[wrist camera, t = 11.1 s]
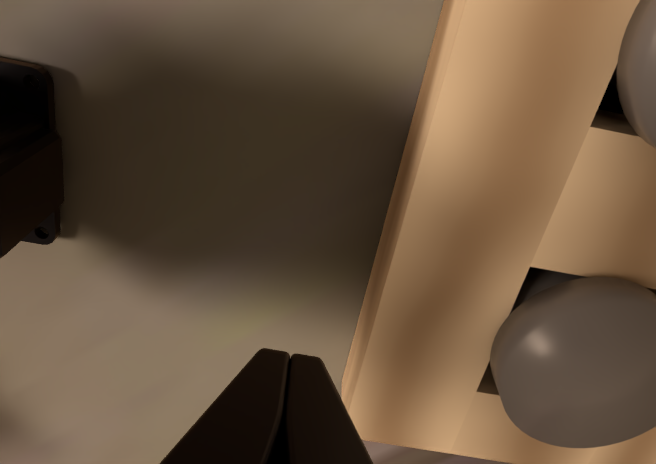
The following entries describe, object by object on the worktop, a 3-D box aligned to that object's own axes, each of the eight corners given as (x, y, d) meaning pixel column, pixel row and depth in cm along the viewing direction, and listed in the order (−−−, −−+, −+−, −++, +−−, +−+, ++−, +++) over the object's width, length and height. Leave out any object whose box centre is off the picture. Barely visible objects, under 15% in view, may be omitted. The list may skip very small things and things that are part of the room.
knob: (451, 345, 22) (475, 433, 18) (501, 217, 19) (541, 286, 15) (590, 369, 22) (644, 460, 18) (658, 246, 20) (738, 321, 16)
